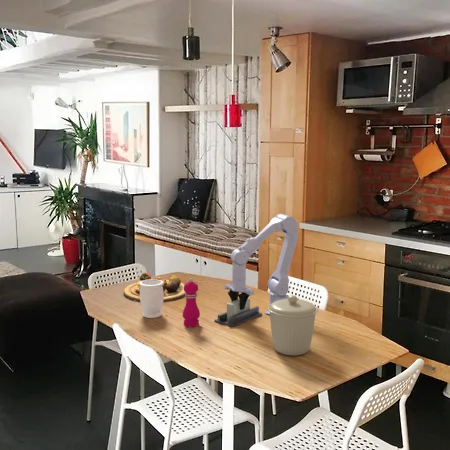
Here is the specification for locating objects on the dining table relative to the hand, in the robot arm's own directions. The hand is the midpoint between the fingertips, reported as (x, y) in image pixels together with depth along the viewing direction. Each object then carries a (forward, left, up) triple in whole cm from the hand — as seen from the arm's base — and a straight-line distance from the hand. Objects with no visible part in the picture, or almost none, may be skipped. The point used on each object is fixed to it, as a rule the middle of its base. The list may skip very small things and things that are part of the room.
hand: (238, 308), depth 241 cm
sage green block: (0, 0, -4) cm, 4 cm away
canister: (-37, +14, -5) cm, 40 cm away
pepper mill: (+10, +19, -5) cm, 22 cm away
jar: (+31, +22, -5) cm, 38 cm away
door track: (0, 0, -4) cm, 4 cm away
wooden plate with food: (+55, -2, -5) cm, 55 cm away
